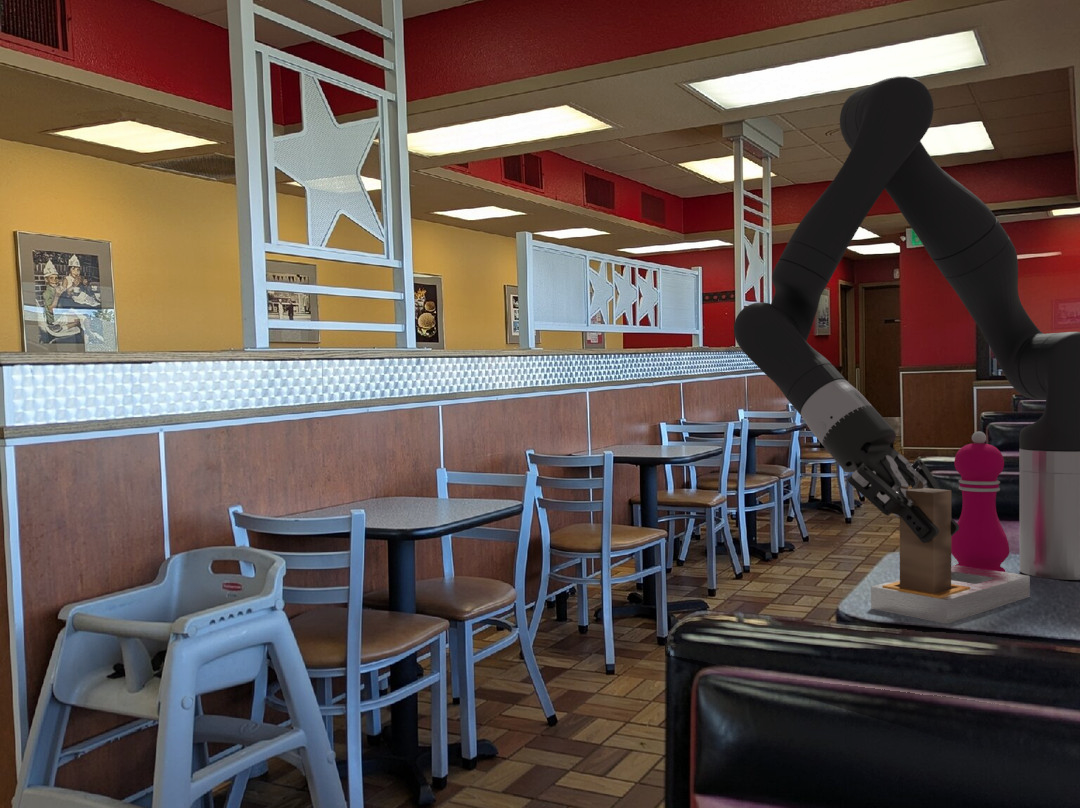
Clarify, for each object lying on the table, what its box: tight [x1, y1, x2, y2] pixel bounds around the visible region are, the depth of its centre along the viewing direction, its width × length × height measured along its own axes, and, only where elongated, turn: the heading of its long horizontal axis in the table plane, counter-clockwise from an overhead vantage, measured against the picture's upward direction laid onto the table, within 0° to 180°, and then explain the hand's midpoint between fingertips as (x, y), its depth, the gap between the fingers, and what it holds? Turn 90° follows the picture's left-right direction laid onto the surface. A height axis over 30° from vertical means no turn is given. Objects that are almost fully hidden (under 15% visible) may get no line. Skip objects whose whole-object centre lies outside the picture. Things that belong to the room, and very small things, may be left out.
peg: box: [899, 487, 952, 593], centre depth 105 cm, size 4×4×12 cm
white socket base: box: [870, 564, 1031, 624], centre depth 109 cm, size 20×9×3 cm, turn 129°
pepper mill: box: [951, 430, 1010, 572], centre depth 123 cm, size 7×7×20 cm
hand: (942, 535), depth 103 cm, fingers closed on peg, 4 cm apart
